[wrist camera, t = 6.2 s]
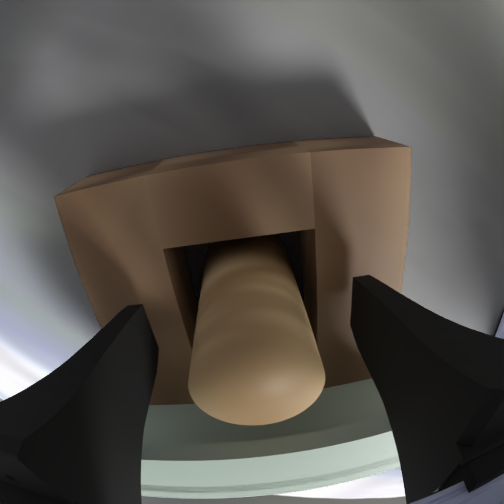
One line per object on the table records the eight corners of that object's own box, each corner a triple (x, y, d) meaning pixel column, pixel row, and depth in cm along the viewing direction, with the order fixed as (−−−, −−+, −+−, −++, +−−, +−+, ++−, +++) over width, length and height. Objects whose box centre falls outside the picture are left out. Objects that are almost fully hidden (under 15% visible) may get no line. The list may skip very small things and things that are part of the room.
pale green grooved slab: (370, 300, 15) (436, 415, 9) (364, 355, 17) (409, 463, 10) (136, 330, 16) (98, 455, 9) (158, 381, 17) (138, 495, 10)
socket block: (375, 136, 12) (410, 147, 9) (364, 355, 17) (381, 393, 14) (87, 176, 12) (54, 196, 9) (158, 381, 17) (150, 421, 15)
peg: (284, 220, 13) (327, 327, 7) (290, 293, 15) (322, 416, 9) (198, 231, 13) (172, 346, 7) (213, 302, 15) (204, 429, 9)
